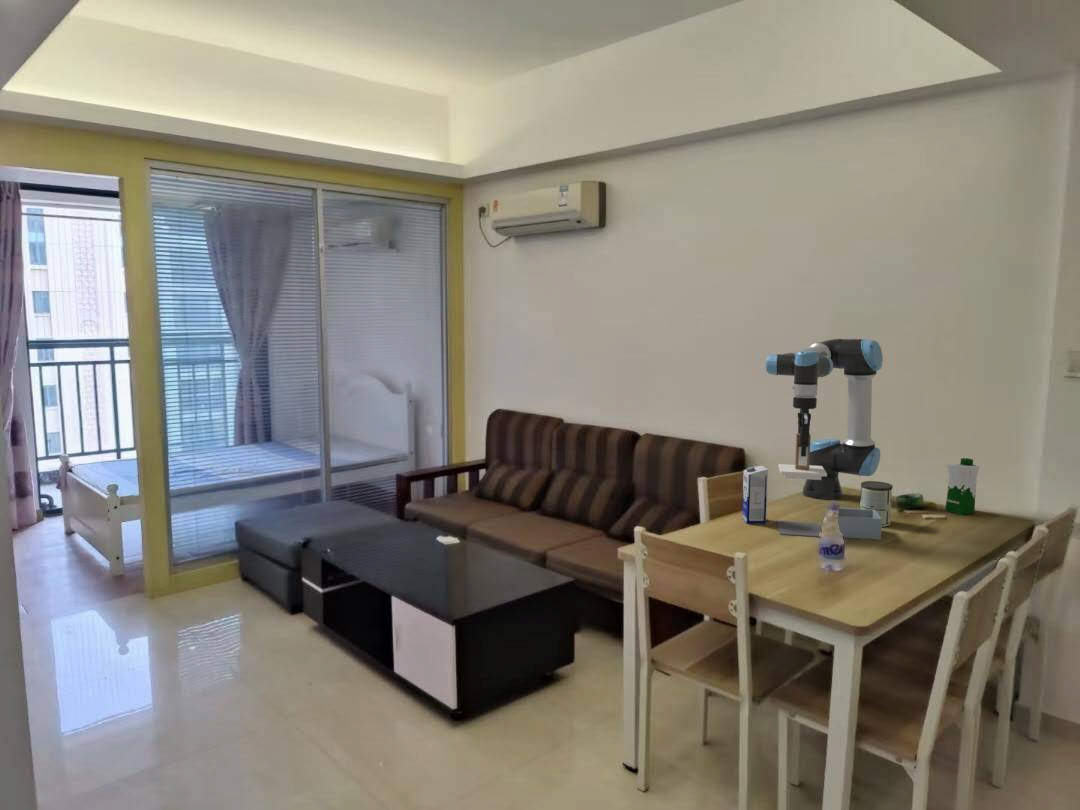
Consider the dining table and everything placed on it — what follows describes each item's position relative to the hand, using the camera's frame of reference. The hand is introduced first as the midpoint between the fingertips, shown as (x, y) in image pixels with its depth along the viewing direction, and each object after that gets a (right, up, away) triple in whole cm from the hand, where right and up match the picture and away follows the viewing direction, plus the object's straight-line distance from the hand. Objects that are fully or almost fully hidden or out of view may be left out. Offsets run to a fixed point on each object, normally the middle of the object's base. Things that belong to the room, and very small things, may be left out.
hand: (802, 464), depth 252 cm
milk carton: (-13, -22, +13) cm, 29 cm away
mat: (0, -23, +3) cm, 23 cm away
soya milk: (+68, -20, +25) cm, 76 cm away
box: (+18, -23, -1) cm, 29 cm away
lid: (0, -4, +1) cm, 4 cm away
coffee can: (+30, -22, +11) cm, 39 cm away
